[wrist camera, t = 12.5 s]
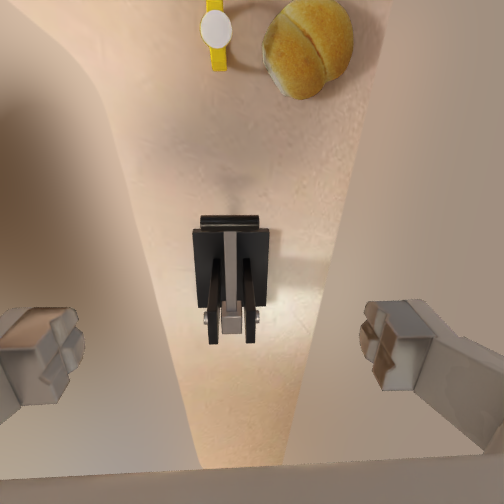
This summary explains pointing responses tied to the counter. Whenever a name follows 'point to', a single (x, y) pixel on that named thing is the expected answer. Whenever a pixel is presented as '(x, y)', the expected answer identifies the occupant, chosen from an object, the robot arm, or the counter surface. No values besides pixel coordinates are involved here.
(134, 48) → the counter surface
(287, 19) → the bread roll
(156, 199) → the counter surface
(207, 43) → the watch
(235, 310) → the lever
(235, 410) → the counter surface
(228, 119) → the counter surface
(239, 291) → the bracket
